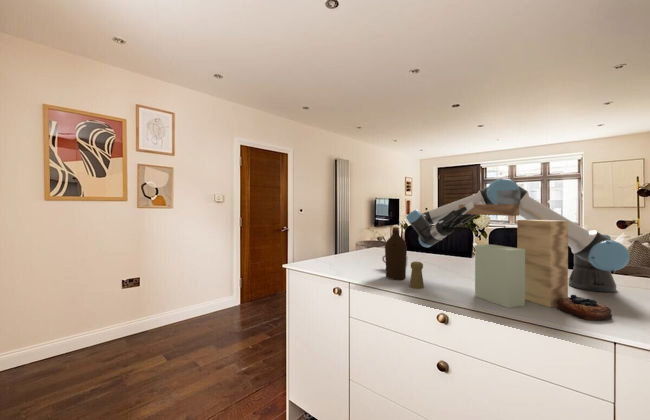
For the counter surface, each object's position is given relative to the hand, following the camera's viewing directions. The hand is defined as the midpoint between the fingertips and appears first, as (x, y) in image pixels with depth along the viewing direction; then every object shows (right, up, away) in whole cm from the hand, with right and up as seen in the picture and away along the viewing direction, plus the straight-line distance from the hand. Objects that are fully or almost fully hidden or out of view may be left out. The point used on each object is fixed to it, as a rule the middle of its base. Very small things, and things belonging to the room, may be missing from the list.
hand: (477, 204), depth 115 cm
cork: (-22, -36, +9) cm, 43 cm away
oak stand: (+19, -36, -9) cm, 42 cm away
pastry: (+23, -37, -23) cm, 49 cm away
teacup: (-22, -36, +45) cm, 62 cm away
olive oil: (-27, -36, +25) cm, 52 cm away
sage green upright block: (+3, -36, -9) cm, 37 cm away
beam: (+1, -4, -4) cm, 6 cm away
